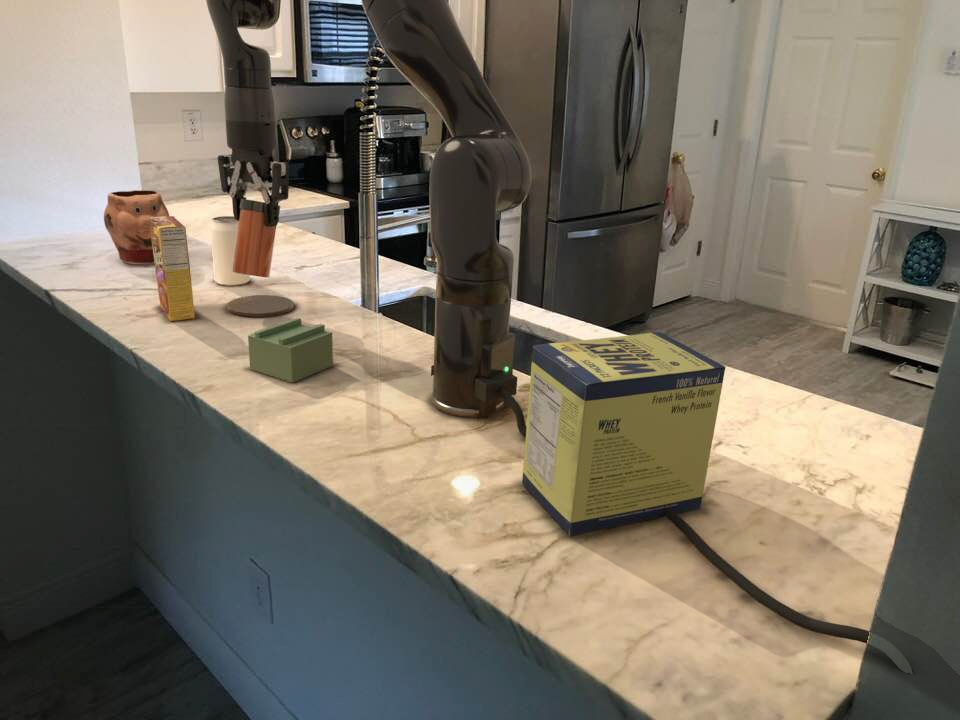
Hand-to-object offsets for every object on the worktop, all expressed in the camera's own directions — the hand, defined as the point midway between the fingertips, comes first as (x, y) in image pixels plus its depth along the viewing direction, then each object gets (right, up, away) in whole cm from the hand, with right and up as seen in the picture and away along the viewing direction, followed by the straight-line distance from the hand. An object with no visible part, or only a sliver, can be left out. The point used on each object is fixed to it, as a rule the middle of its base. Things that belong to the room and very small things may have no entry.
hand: (256, 222), depth 126 cm
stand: (+11, -24, -20) cm, 33 cm away
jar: (0, -3, +1) cm, 3 cm away
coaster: (-1, -14, +5) cm, 15 cm away
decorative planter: (-33, -2, +32) cm, 46 cm away
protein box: (+50, -37, -48) cm, 79 cm away
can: (-10, -8, +19) cm, 23 cm away
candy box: (-13, -15, 0) cm, 20 cm away
